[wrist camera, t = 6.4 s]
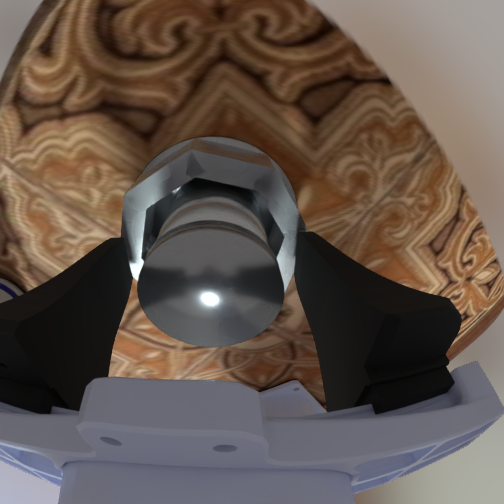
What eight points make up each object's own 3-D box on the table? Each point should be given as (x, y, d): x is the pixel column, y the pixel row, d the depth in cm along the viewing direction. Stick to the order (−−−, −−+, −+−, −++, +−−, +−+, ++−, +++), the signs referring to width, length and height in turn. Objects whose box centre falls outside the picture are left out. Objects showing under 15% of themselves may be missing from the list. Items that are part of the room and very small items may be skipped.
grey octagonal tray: (320, 243, 16) (336, 272, 14) (192, 306, 18) (189, 340, 15) (244, 102, 12) (248, 106, 10) (100, 197, 14) (78, 221, 11)
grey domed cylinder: (266, 171, 13) (294, 234, 8) (259, 258, 16) (275, 346, 11) (164, 170, 13) (126, 232, 8) (169, 257, 15) (149, 344, 10)
